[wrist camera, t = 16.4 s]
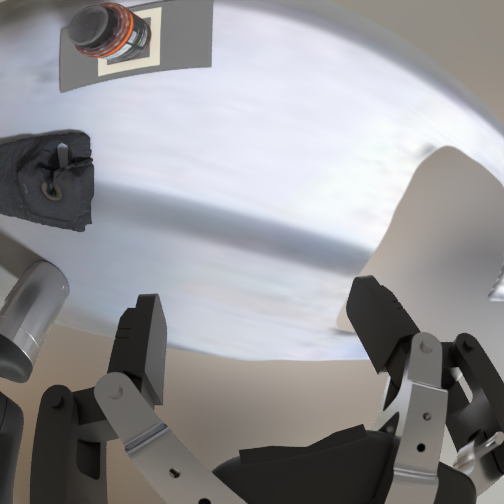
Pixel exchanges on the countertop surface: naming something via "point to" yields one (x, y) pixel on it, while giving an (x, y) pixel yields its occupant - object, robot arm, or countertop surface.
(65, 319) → the countertop surface
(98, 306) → the countertop surface
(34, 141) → the black pouch
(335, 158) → the countertop surface
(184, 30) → the pad
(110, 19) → the supplement bottle
